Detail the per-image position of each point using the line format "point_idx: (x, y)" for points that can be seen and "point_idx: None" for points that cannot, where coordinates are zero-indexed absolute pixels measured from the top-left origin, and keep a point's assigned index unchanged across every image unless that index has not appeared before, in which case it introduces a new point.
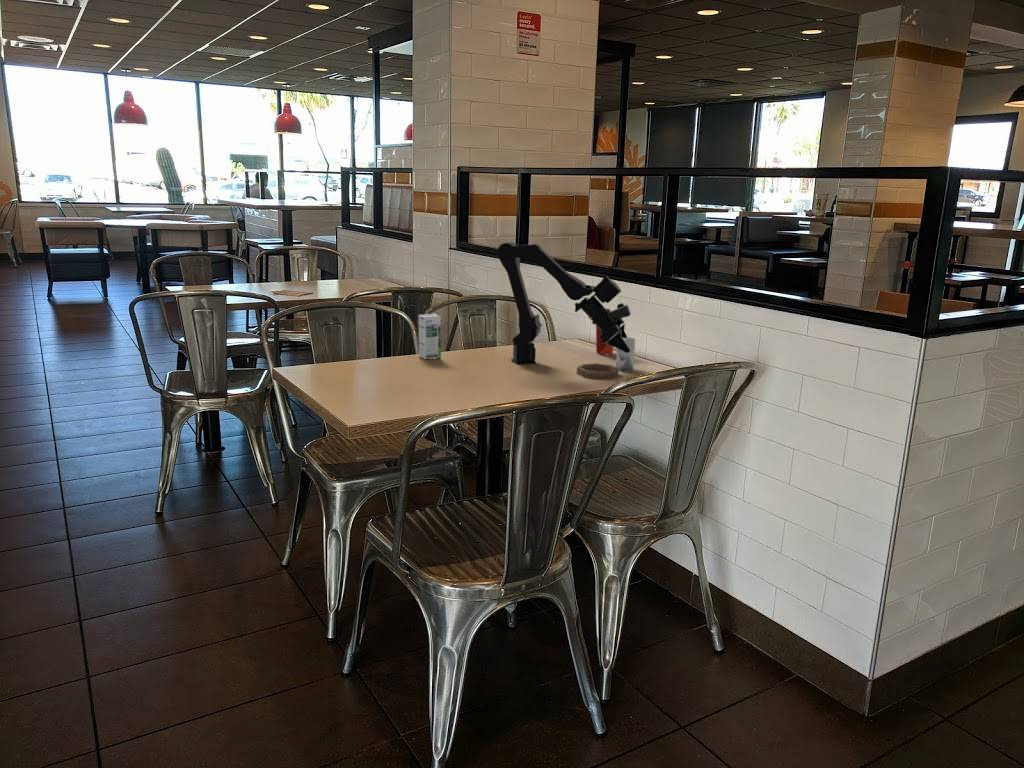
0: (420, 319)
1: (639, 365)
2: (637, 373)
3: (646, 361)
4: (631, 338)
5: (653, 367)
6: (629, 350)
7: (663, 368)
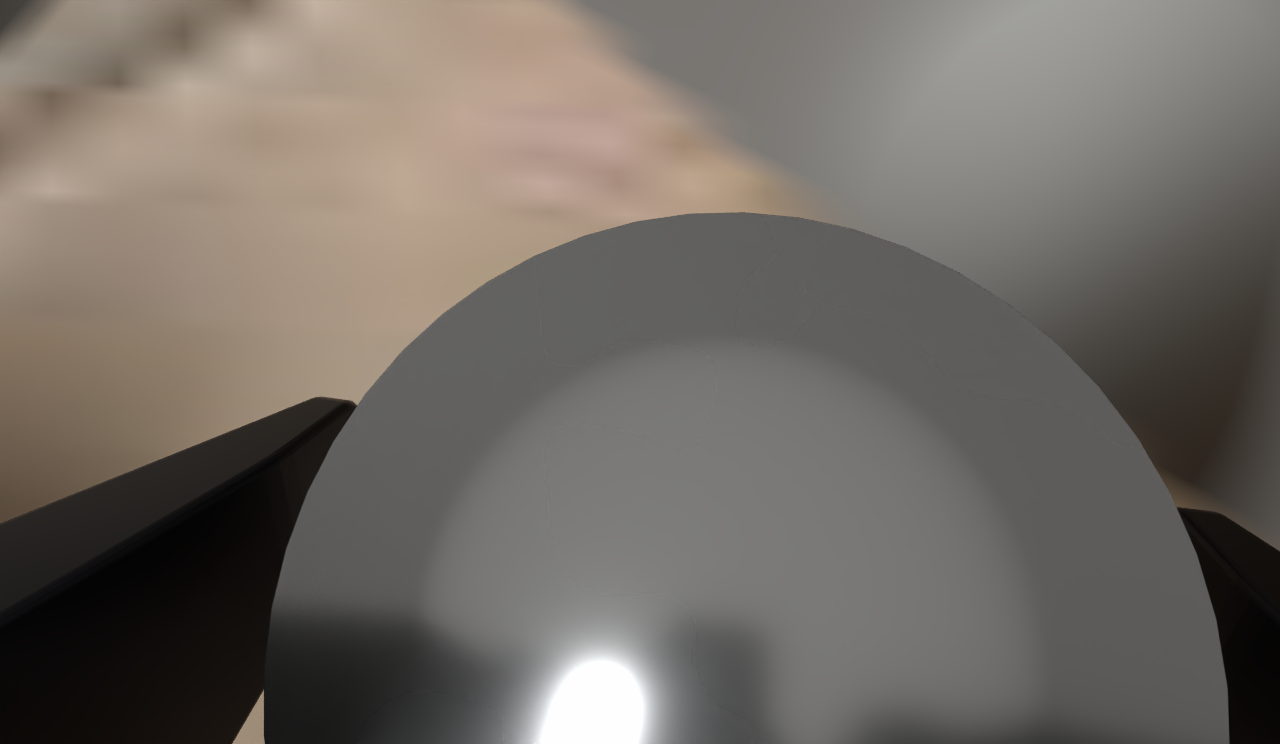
0: None
1: (345, 337)
2: None
3: (48, 217)
4: (580, 375)
5: (465, 135)
6: (1235, 533)
7: (513, 5)
